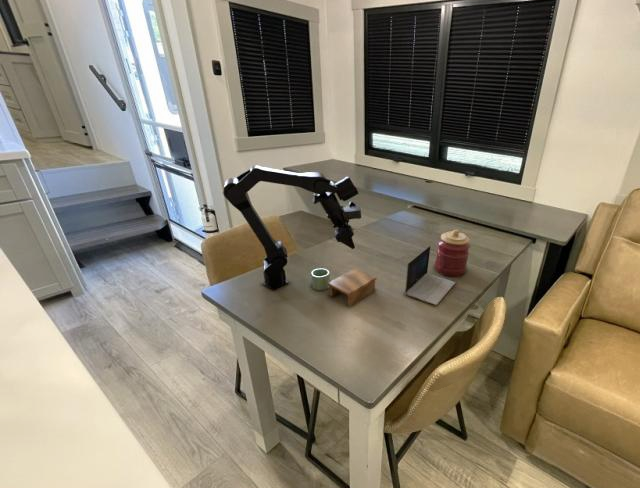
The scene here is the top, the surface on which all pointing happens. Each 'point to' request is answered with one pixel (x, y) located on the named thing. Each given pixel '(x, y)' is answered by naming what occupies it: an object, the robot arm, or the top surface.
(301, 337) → the top surface
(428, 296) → the laptop
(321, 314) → the top surface
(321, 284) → the ramekin
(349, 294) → the shelf
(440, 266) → the kitchen canister
